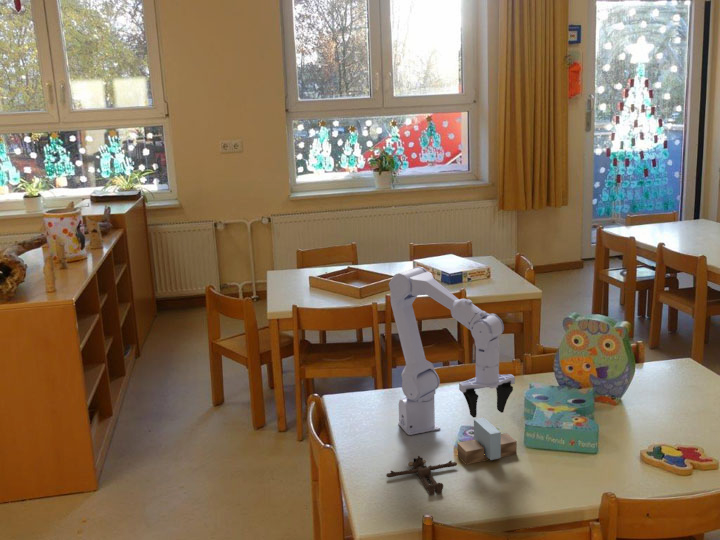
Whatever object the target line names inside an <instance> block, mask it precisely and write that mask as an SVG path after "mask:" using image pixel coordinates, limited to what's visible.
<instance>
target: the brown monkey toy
mask: <svg viewBox="0 0 720 540" xmlns="http://www.w3.org/2000/svg"><path fill="white" fill-rule="evenodd" d="M426 463H427V461H426V460H425V459H424V458H423V457H421V455H418V456H417V457H416V458H413V460H412V461H411V462H410V461H409V462H408V463H407V465H408V466H409V467H412V468H413V469H408V470H407V469H406V470H401V471H394V470H390V472H389V473H386V475H385V476H386V478H395V477H399V476H406V475H412V474H417V475H418V477H419V479H420V480H421V482H422V483H423V485H424V488H425V489H426V490H427V493H428V494H429V496H434V495H435V492H436V494H437V495H441V494H442V493H443V490H444V489H443V488H444V484H443V483H442V482H437V481H436V480H435V478H434V477H433V475H432V471H436V470H441V469H444V468H453V467H457V465H458V463H457V462H456V461H454V462H452V460H449V462H447V463H442V464H440V463H439V464H437V465H436V464H435V465H431V464H430V465H428V466H427V465H426ZM428 479H429V481H430V483H429V481H428Z"/></svg>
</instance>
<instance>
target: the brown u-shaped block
mask: <svg viewBox="0 0 720 540" xmlns="http://www.w3.org/2000/svg"><path fill="white" fill-rule="evenodd" d="M517 444H518V443H517V440H516V439H515V438H513V437H512V436H511V435H510V434H508V433H507V432H505V433H504V432H503V433H501V458H503V457H510V456H513V455H517V453H518V451H517V449H518V448H517V447H518V446H517ZM456 445H457V451H458V455H457V457H459V459H460V458H461V459H462V460H463V461H464V462H465V463H466V464H465V463H464V462H463V461H462V462H463V463H464V464H465V465H470V463H471V464H475V463H479V462H485V461H488V460H487V459H489V458H488V457H487V456H486V455H484V447H483V446H482V445H480V444H479V443H478V442H477V441H476V440H475V439H474V438H473V439H470V440H469V439H468V440H465V441H464V440H463V441H460V442H457V444H456ZM461 459H460V460H461ZM484 460H485V461H484Z"/></svg>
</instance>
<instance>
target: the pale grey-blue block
mask: <svg viewBox="0 0 720 540" xmlns="http://www.w3.org/2000/svg"><path fill="white" fill-rule="evenodd" d="M501 434H502V433H501V431H500V430H499V429H498V428H497V427H495V426H494V425H493V424H492V423H491V422H489V420H487V419H486V418H485V417H479V418H474V419H473V440H474V439H475V440H476V441H477V442H478V443H479V444H480V445H482V446H483V447H484V454H485V455H486V456H487V457H488V458H489V459H490V460H489V461H493V460H498V459H501V458H502V457H501Z"/></svg>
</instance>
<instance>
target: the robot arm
mask: <svg viewBox="0 0 720 540" xmlns="http://www.w3.org/2000/svg"><path fill="white" fill-rule="evenodd" d="M388 287H389V290H390V305H391V309H392V312H393V313H392V315H393V317H394V321H395V326H396V328H397V329H396V330H397V333H398V337H399V341H400V342H399V343H400V345H401V350H402V353H403V354H402V355H403V357H404V361H405V366H404V368H403V369H402V372H401V375H400V376H401V379H402V382H401V389H402V390H401V391H402V393H403V395H404V396H405V397H404V398H401V399H399V401H398V422H397V423H398V425H399V426H400V427H401V429H402V430H403V431H404V432H405V433H406V434H407V435H408V436H412V435H417V434H422V433H427V432H429V433H430V432H433V431H439V430H441V426H439V425H438V423H437V422H436V419H435V418H436V417H435V415H436V414H435V409H436V408H435V406H436V405H435V395H436V390H437V389H438V388H439V387H440V383H441V381H440V380H441V379H440V377H439V375H438V373H437V371H436V369H435V367H434V364H433V363H432V362H431V361H429V360H427V359H426V355H425V350H424V347H423V343H422V339H421V335H420V330H419V326H418V323H417V319H416V314H415V310H414V308H413V303H414V302H415V300H416V298H417V297H418V296H428V297H429V298H431V299H433V300H434V301H435V302H437V303H439V304H440V305H442V306H444V307H445V308H447V309H449V310H450V315H451V318H453V319H454V320H456V321H457V322H459V323H460V324H461V325H462V326H464V327H465V328H467V329H468V330H470V333H471V336H472V338H473V340H474V346H475V377H473V378H469V379H467V380H465V381H461V382H459V383H458V390H459V391H460V392H461V393H462V395H463V396H464V398H465V400H466V403H467V405H468V406H467V407H468V410H469V415H470V416H471V417H472V418H474V419H476V418H477V414H478V413H477V411H478V410H477V408H478V407H477V404H478V399H479V394H478V393H476V390H479V389H485V388H489V389H496V410H497V411H498V412H500V413H505V412H504V411H505V407H506V404H507V401H508V399H509V398H510V395H511V394H512V392H513V391H514V386H512V385H515V383H516V380H515V379H516V377H515V376H514V375H513V374H511V373H510V374H509V373H508V374H500V336H501V335H502V334H503V333H504V330H505V326H504V321H503V320H502V319H501V317H499V316H498V314H496V313H488V312H487V311H485V310H482V309H481V308H480V307H478V306H476V305H475V304H474V303H473V301H472V300H471V299H469V298H467V299H466V298H460V299H459V297H457V296H455V295H454V294H453V293H452V292H451V291H449V290H448V289H447V288H446V287H444V286H443V285H442V284H441V283H440V282H438V281H437V280H436V279H435V278H434V276H433V273H431V272H430V271H428V270H427V269H426V268H425V267H422V266H416V267H414V268H412V269H409V270H406V271H403V272H398V273H395V274H394V275H393V276H392V278H390V281H389V283H388Z"/></svg>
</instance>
